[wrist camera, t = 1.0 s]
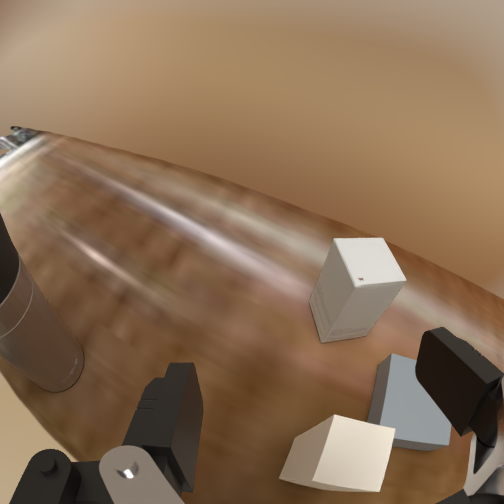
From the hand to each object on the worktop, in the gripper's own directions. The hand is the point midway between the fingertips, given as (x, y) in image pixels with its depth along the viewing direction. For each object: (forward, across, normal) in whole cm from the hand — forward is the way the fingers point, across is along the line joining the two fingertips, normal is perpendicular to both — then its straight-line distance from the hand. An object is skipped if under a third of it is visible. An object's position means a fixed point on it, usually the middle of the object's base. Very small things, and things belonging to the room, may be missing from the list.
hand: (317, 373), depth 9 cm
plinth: (+16, -17, +23) cm, 32 cm away
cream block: (+11, -3, +23) cm, 26 cm away
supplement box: (+28, -10, +14) cm, 33 cm away
